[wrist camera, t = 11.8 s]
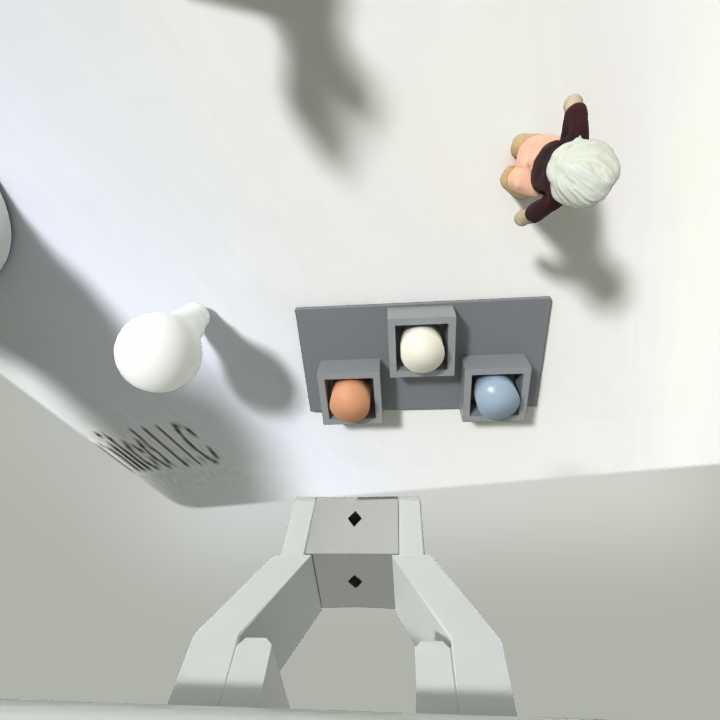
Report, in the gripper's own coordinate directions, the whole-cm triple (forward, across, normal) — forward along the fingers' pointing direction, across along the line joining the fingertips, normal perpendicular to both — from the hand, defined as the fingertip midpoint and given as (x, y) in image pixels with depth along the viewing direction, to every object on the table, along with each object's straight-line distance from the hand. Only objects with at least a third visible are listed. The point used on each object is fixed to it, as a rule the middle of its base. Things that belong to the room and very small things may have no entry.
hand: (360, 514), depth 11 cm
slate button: (+28, -10, +14) cm, 33 cm away
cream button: (+28, -3, +9) cm, 29 cm away
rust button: (+28, +3, +14) cm, 31 cm away
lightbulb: (+29, +17, +6) cm, 34 cm away
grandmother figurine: (+29, -11, -5) cm, 32 cm away
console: (+29, -3, +11) cm, 31 cm away
